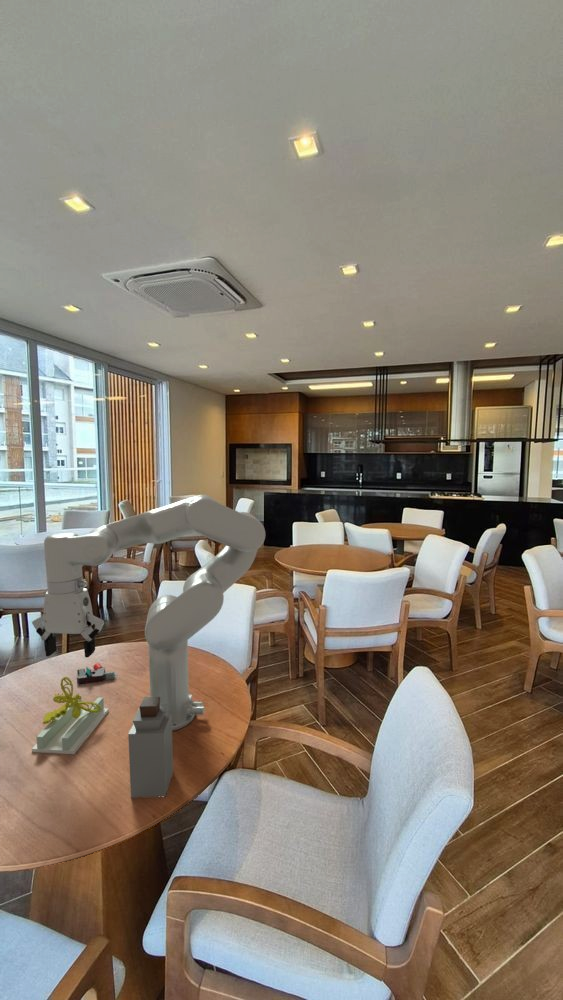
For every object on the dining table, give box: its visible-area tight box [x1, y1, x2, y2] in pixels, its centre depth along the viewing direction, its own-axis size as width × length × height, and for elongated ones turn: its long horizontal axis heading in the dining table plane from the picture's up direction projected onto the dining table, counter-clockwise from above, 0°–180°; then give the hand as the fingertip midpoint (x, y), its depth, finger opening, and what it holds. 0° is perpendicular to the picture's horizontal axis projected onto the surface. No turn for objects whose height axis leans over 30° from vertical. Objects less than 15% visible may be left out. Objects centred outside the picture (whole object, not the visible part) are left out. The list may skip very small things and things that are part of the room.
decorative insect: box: [42, 676, 101, 725], centre depth 100 cm, size 13×3×10 cm
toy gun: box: [76, 662, 118, 686], centre depth 128 cm, size 10×12×5 cm
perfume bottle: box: [127, 696, 174, 799], centre depth 84 cm, size 7×7×18 cm
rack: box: [31, 696, 110, 755], centre depth 102 cm, size 10×16×4 cm, turn 176°
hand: (70, 654), depth 100 cm, fingers open, 9 cm apart
